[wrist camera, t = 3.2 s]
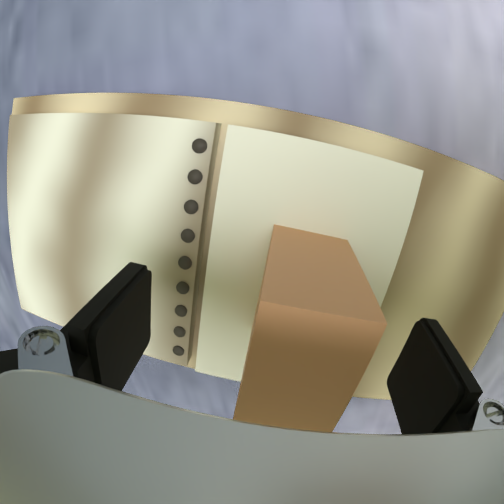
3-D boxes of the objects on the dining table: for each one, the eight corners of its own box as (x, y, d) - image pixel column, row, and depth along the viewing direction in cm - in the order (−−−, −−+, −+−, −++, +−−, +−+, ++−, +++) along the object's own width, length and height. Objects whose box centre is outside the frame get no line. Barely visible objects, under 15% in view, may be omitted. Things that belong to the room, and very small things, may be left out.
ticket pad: (528, 195, 13) (555, 206, 10) (444, 387, 18) (455, 412, 15) (30, 98, 14) (0, 98, 12) (35, 299, 19) (13, 316, 17)
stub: (414, 167, 12) (514, 205, 5) (337, 385, 16) (349, 492, 10) (232, 124, 12) (171, 116, 6) (199, 359, 17) (159, 463, 10)
